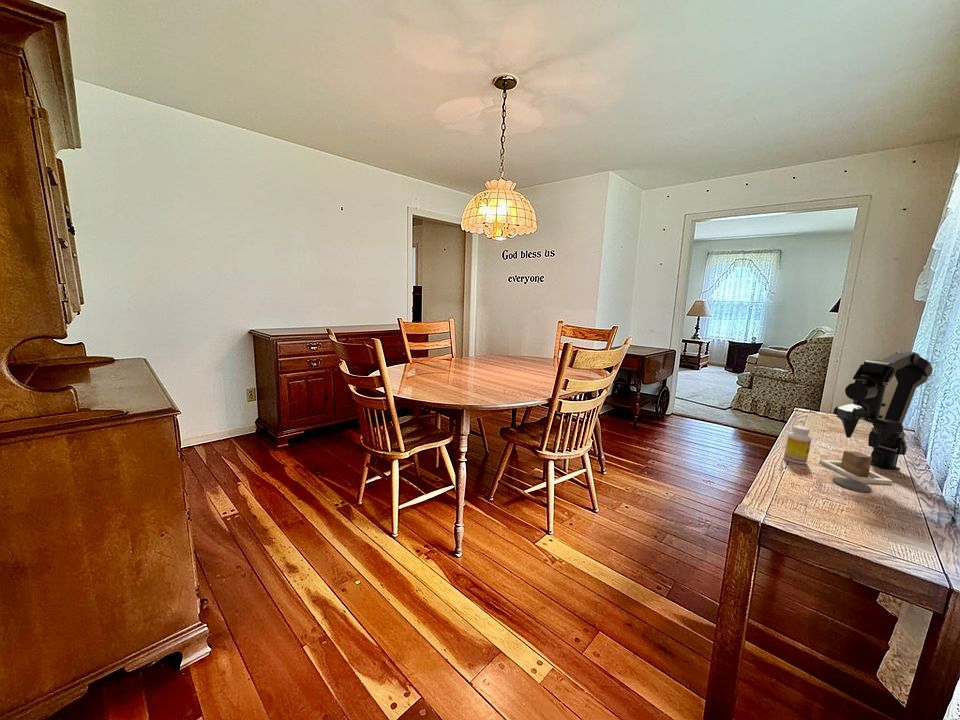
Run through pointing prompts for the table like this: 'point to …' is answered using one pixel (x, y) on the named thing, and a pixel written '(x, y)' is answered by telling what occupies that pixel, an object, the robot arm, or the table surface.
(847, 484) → the coaster
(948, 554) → the table surface
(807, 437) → the supplement bottle
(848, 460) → the block
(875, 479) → the pocket frame
